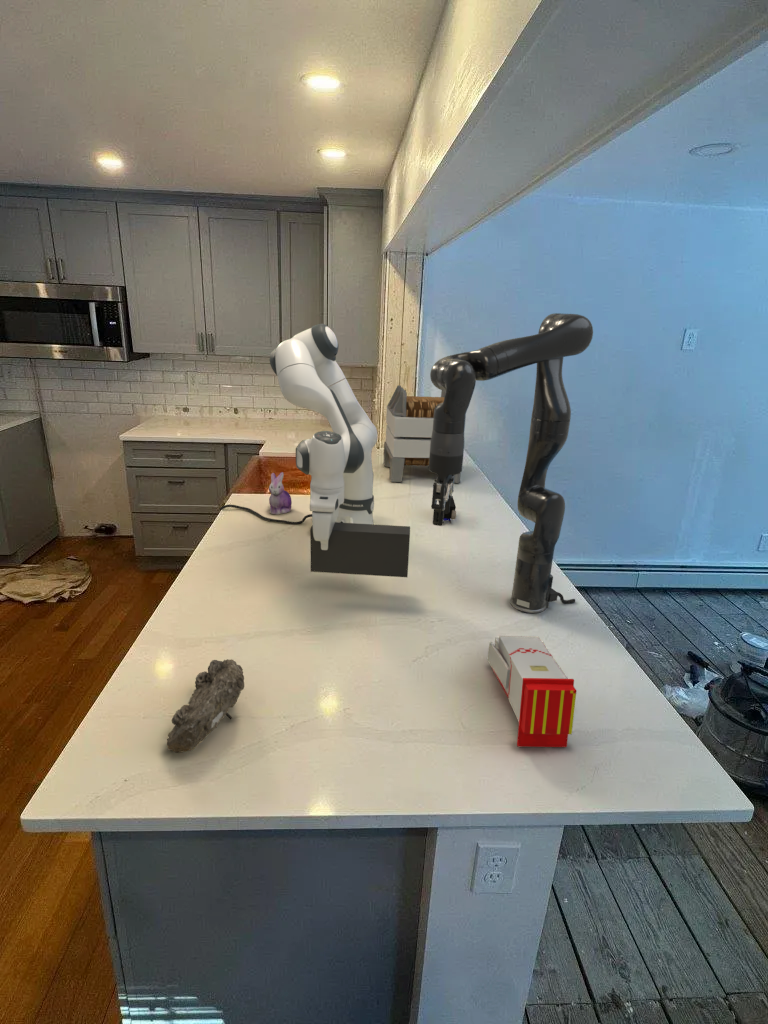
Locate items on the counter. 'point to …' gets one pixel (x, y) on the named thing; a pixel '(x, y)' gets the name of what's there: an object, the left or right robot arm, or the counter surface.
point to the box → (363, 550)
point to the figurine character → (450, 511)
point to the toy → (534, 690)
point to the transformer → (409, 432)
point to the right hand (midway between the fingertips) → (441, 518)
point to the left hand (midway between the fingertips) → (326, 543)
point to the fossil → (206, 705)
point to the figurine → (278, 496)
